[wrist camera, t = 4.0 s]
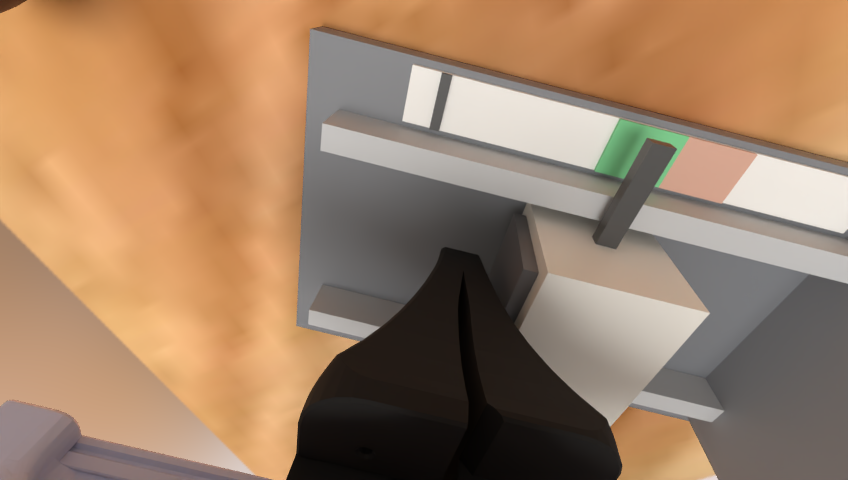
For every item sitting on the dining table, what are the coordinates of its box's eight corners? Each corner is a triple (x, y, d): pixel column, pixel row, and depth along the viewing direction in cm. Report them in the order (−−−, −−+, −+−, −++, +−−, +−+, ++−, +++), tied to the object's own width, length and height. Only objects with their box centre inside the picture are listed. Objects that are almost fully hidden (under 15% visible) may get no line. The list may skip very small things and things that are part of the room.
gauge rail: (710, 409, 18) (819, 601, 13) (304, 310, 18) (222, 462, 12) (951, 189, 12) (1407, 377, 6) (322, 26, 12) (162, 59, 6)
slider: (574, 342, 16) (600, 437, 12) (468, 316, 15) (466, 405, 12) (703, 140, 11) (805, 204, 8) (554, 101, 11) (588, 149, 7)
